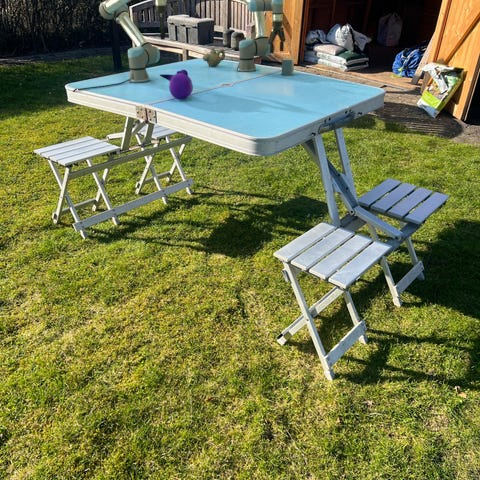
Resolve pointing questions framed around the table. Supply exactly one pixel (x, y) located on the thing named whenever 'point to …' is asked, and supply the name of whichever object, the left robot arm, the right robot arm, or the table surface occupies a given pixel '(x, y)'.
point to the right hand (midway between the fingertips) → (276, 52)
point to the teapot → (214, 57)
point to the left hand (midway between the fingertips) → (163, 38)
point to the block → (287, 66)
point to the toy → (179, 84)
